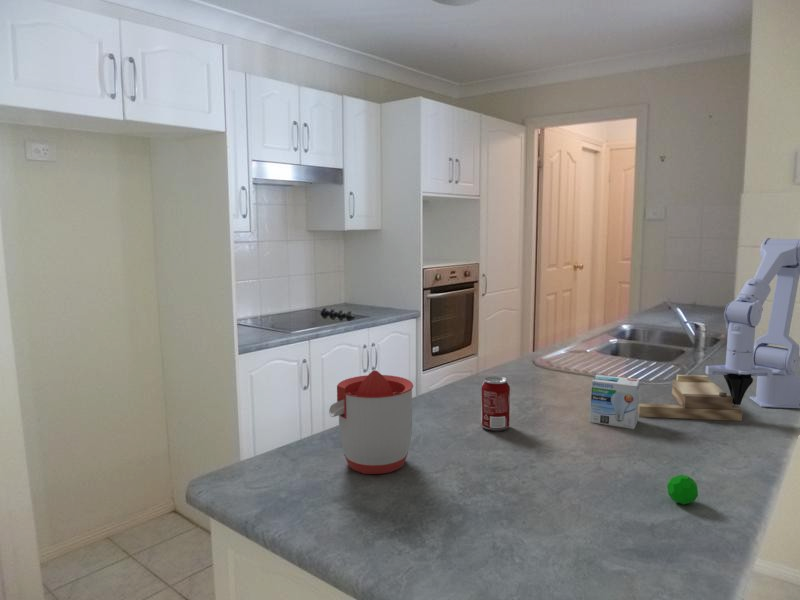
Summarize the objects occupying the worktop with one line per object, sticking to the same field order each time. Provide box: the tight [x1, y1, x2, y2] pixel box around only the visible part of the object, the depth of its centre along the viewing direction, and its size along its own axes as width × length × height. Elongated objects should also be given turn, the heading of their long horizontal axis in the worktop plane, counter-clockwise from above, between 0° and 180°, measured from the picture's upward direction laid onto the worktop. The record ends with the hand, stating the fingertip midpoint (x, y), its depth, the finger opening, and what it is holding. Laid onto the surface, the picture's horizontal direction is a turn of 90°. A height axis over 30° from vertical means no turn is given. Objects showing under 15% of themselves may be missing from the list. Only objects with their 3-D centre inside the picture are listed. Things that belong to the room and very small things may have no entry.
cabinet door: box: [682, 391, 734, 409], centre depth 146 cm, size 11×2×4 cm, turn 81°
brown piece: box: [638, 385, 743, 422], centre depth 156 cm, size 24×19×3 cm
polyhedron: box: [666, 474, 699, 505], centre depth 104 cm, size 5×5×5 cm
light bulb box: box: [589, 374, 641, 430], centre depth 144 cm, size 11×7×11 cm, turn 62°
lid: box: [671, 374, 729, 395], centre depth 156 cm, size 10×16×3 cm, turn 171°
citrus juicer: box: [328, 370, 414, 475], centre depth 120 cm, size 16×17×20 cm
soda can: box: [480, 375, 511, 432], centre depth 141 cm, size 7×7×12 cm
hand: (736, 403), depth 145 cm, fingers closed
